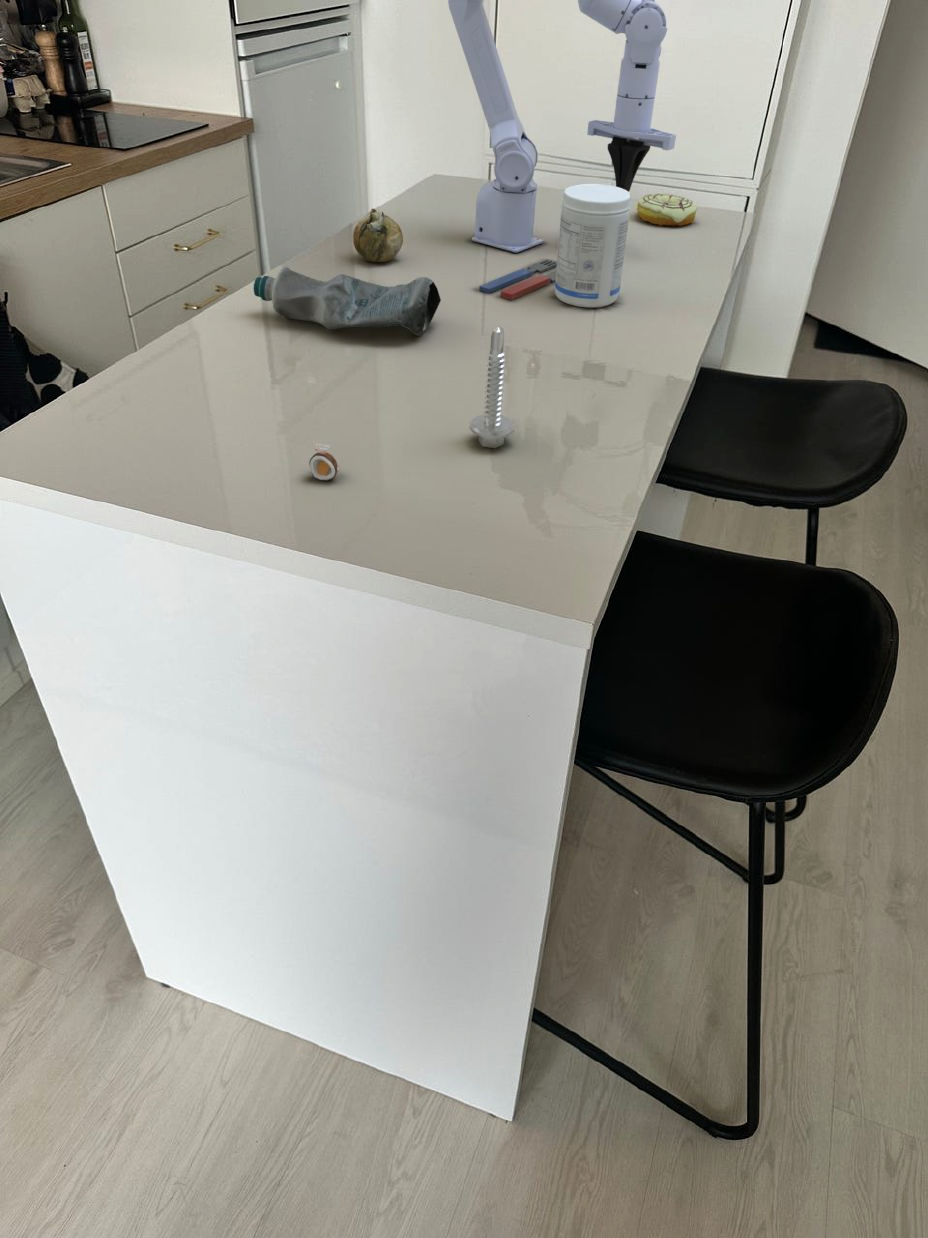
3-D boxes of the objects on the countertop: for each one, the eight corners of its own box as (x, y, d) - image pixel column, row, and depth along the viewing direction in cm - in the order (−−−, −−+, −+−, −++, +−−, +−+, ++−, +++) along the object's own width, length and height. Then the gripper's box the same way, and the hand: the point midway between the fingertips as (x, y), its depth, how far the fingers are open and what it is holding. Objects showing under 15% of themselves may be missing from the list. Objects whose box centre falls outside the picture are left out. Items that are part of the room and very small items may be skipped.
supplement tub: (592, 283, 141) (604, 179, 132) (631, 303, 135) (647, 196, 126) (540, 292, 137) (549, 186, 128) (578, 313, 131) (591, 204, 122)
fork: (490, 294, 136) (491, 289, 136) (477, 289, 137) (477, 285, 137) (559, 265, 148) (560, 260, 147) (546, 261, 149) (547, 256, 148)
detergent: (447, 315, 128) (278, 290, 132) (449, 265, 123) (273, 240, 127) (422, 359, 119) (241, 331, 122) (422, 306, 114) (233, 278, 118)
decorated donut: (686, 231, 165) (690, 209, 162) (628, 222, 168) (632, 200, 166) (699, 217, 172) (703, 195, 170) (644, 208, 175) (647, 187, 173)
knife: (511, 300, 134) (512, 294, 134) (500, 296, 135) (500, 290, 135) (585, 268, 147) (585, 262, 146) (574, 265, 148) (574, 259, 147)
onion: (412, 262, 146) (413, 209, 141) (368, 270, 142) (367, 215, 137) (388, 249, 151) (387, 197, 146) (345, 256, 147) (343, 203, 142)
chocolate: (345, 474, 93) (343, 439, 91) (335, 485, 92) (333, 449, 89) (318, 468, 94) (316, 433, 92) (308, 478, 93) (305, 443, 90)
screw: (504, 430, 102) (519, 450, 99) (463, 434, 101) (476, 455, 98) (513, 314, 94) (529, 332, 91) (468, 318, 93) (482, 336, 89)
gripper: (691, 99, 139) (674, 195, 148) (608, 85, 146) (597, 178, 154) (668, 105, 135) (653, 203, 143) (584, 90, 141) (574, 185, 150)
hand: (622, 191), depth 148 cm, fingers closed
